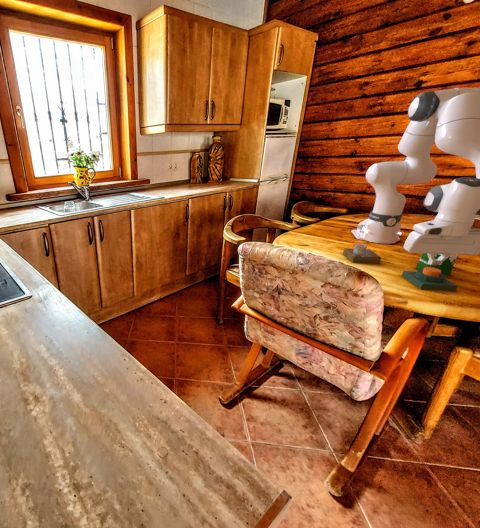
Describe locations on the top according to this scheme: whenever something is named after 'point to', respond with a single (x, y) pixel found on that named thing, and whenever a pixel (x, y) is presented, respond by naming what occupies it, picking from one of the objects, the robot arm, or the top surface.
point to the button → (431, 271)
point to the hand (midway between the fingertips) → (434, 264)
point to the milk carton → (444, 267)
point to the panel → (362, 256)
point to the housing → (429, 281)
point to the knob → (359, 249)
